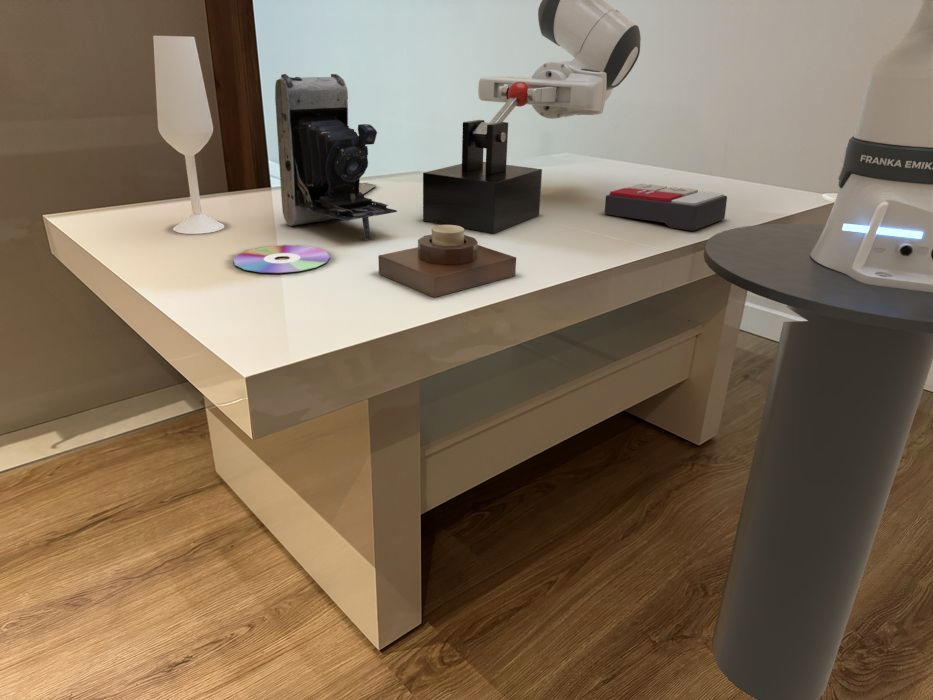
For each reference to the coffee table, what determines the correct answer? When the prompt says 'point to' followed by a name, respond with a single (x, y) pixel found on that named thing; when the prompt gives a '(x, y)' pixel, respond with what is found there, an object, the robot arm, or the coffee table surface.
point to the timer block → (446, 266)
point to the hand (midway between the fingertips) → (516, 94)
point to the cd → (267, 263)
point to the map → (365, 187)
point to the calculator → (667, 205)
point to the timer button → (448, 235)
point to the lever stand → (482, 186)
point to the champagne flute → (184, 115)
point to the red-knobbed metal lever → (503, 111)
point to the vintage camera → (321, 153)
